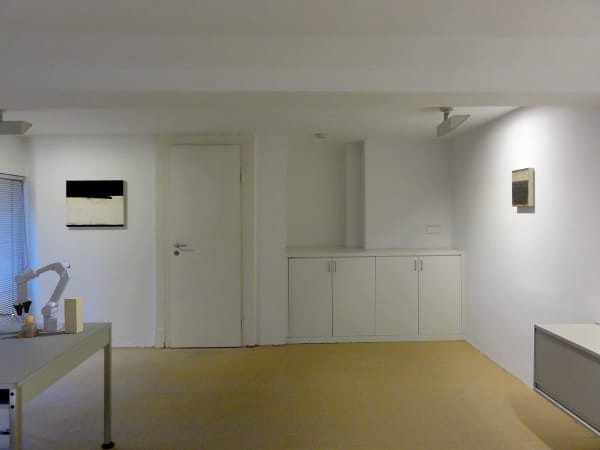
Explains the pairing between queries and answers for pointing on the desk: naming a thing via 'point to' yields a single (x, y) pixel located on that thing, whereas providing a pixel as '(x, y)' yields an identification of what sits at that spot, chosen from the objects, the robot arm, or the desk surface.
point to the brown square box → (28, 334)
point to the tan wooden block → (73, 314)
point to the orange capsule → (28, 320)
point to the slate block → (29, 328)
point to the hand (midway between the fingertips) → (23, 314)
